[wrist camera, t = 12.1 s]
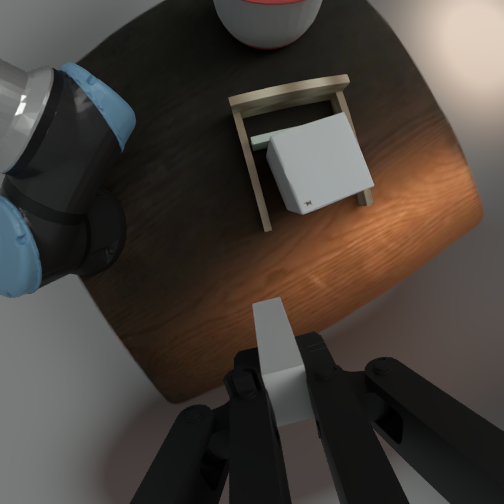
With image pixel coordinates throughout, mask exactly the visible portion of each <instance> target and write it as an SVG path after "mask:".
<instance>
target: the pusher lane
mask: <svg viewBox="0 0 504 504" xmlns="http://www.w3.org/2000/svg"><path fill="white" fill-rule="evenodd" d="M349 83H350V81H349V78H348V76H347V74H346V75H338V76H331V77H324V78H318V79H312V80H306V81H300V82H295V83H290V84H285V85H280V86H275V87H270V88H266V89H261V90H257V91H253V92H248V93H244V94H240V95H236V96H233V97H229V102H230V105H231V109H232V112H233V116H234V119H235V123H236V127H237V130H238V134H239V137H240V141H241V145H242V148H243V152H244V156H245V159H246V163H247V167H248V170H249V174H250V178H251V182H252V185H253V189H254V193H255V196H256V200H257V204H258V208H259V212H260V215H261V219H262V223H263V227H264V230H265V232H267V231H271V230H272V228H271V224H270V220H269V217H268V213H267V209H266V205H265V201H264V198H263V194H262V190H261V186H260V183H259V179H258V175H257V171H256V168H255V164H254V160H253V157H252V153H251V150H250V146H249V142H248V139H247V135H246V131H245V128H244V124H243V121H242V119H243V118H246V117H250V116H254V115H259V114H263V113H267V112H271V111H276V110H280V109H285V108H290V107H294V106H299V105H304V104H310V103H315V102H321V101H326V100H330V102H331V105H332V108H333V112H334V115H336V114H339V113H342V112H344V113H345V115H346V117H347V120H348V122H349V124H350V126H351V129H352V131H353V133H354V135H355V138H356V140H357V137H356V133H355V130H354V127H353V123H352V120H351V117H350V113H349V110H348V107H347V104H346V101H345V98H344V95H343V92H342V91H343V90H344V88H345V87H346V86H347V85H348V84H349ZM357 143H358V140H357ZM358 145H359V144H358ZM359 148H360V147H359ZM356 196H357V200H358V204H359V205H361V206H370V205H374V204H373V200H372V195H371V191H370V188H368V189H365V190H363V191H361V192H358V193H356Z"/></svg>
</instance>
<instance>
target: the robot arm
mask: <svg viewBox="0 0 504 504" xmlns="http://www.w3.org/2000/svg"><path fill="white" fill-rule="evenodd" d="M135 124H136V118H135V113H134V111H133V110H132V108H131V107H130V106H129V105H128V104H127V103H126V102H125V101H124V100H123V99H122V98H121V97H120V96H119V95H118V94H117V93H116V92H114V91H113V90H112V89H111V88H110V87H108V86H107V85H106V84H105V83H103V82H102V81H100V80H99V79H96V78H95V77H94V76H93V75H91V74H90V73H89V72H88V71H87V70H85V69H83V68H82V67H80V66H78V65H76V64H74V63H71V62H67V63H65V64H64V65H63V66H61V67H60V68H59V70H56V69H54V68H52V67H50V66H48V65H45V66H42V67H39V68H37V69H34V70H32V71H29V72H26V71H24V70H22V69H20V68H18V67H16V66H14V65H12V64H9V63H8V62H5V61H3V60H1V59H0V173H3V174H6V175H5V178H4V181H3V183H2V186H1V189H0V295H3V296H6V297H10V298H12V297H13V298H14V297H19V296H22V295H24V294H31V293H34V292H35V291H36V290H37V289H38V288H41V287H43V286H45V285H47V284H49V283H51V282H53V281H55V280H57V279H59V278H62V277H64V276H66V275H68V274H76V275H93V274H96V273H99V272H101V271H103V270H105V269H107V268H108V267H110V266H111V265H112V264H113V263H114V262H115V261H116V260H117V258H118V257H119V255H120V253H121V251H122V249H123V246H124V243H125V238H126V220H125V216H124V212H123V209H122V207H121V205H120V203H119V201H118V200H117V198H116V197H115V196H114V194H113V193H112V192H111V191H109V190H108V189H107V188H105V187H104V186H102V184H103V182H104V180H105V178H106V176H107V174H108V173H109V171H110V169H111V167H112V166H113V164H114V162H115V160H116V159H117V157H118V155H119V154H120V153H122V152H123V150H124V145H125V143H126V141H127V140H128V138H129V136H130V134H131V133H132V131H133V129H134V127H135ZM253 312H254V320H255V328H256V336H257V344H258V347H256V348H251V349H247V350H243V351H239V352H238V353H237V355H236V356H235V358H234V369H233V370H231V371H230V372H228V373H227V374H226V375H225V377H224V380H223V381H224V384H225V386H226V389H227V391H228V394H229V397H230V400H229V401H228V402H227V403H226V404H224V405H222V406H220V407H218V408H216V409H213V410H211V409H210V408H209V407H207V406H206V405H200V404H199V405H193V406H190V407H187V408H186V409H184V410H183V411H181V413H180V414H179V415H178V417H177V418H176V420H175V422H174V424H173V426H172V428H171V429H170V431H169V433H168V435H167V437H166V439H165V440H164V442H163V444H162V446H161V448H160V450H159V451H158V453H157V455H156V457H155V459H154V461H153V462H152V465H151V466H150V468H149V470H148V472H147V473H146V475H145V477H144V479H143V481H142V483H141V484H140V486H139V488H138V490H137V491H136V493H135V495H134V497H133V499H132V500H131V502H130V504H218V503H219V500H220V497H221V494H222V491H223V488H224V485H225V482H226V479H227V476H228V473H229V504H292V503H291V497H290V491H289V487H288V480H287V474H286V469H285V463H284V457H283V451H282V446H281V441H280V435H279V432H278V429H277V427H278V426H283V425H287V424H291V423H295V422H299V421H303V420H307V419H310V418H314V417H315V420H316V425H317V430H318V435H319V438H320V439H321V442H322V445H323V448H324V452H325V455H326V458H327V462H328V464H329V468H330V471H331V474H332V478H333V481H334V485H335V488H336V491H337V494H338V498H339V501H340V504H409V502H408V500H407V497H406V495H405V493H404V491H403V489H402V487H401V485H400V483H399V481H398V479H397V477H396V475H395V473H394V471H393V469H392V466H391V464H390V462H389V460H388V458H387V456H386V454H385V452H384V451H383V448H382V446H381V444H380V442H379V440H378V438H377V436H376V434H375V432H374V430H375V431H376V432H377V433H378V434H379V435H380V436H381V437H382V438H383V439H384V440H385V441H386V442H387V443H388V444H389V445H390V446H391V447H392V448H393V449H394V450H395V451H396V452H397V453H398V454H399V455H400V456H402V458H403V459H404V460H405V461H406V462H407V463H409V465H410V466H411V467H413V468H414V469H415V470H416V471H417V472H418V473H419V474H420V475H421V476H422V477H423V478H424V479H425V480H426V481H427V482H428V483H429V484H430V485H431V486H432V487H433V488H435V489H436V490H437V491H438V492H439V493H440V494H441V495H442V496H443V497H444V498H445V499H446V500H447V501H448V502H449V503H450V504H504V431H502V430H501V429H499V428H498V427H496V426H494V425H493V424H492V423H490V422H488V421H487V420H486V419H484V418H482V417H481V416H480V415H478V414H476V413H475V412H474V411H472V410H471V409H469V408H468V407H466V406H465V405H463V404H462V403H460V402H459V401H457V400H456V399H454V398H453V397H451V396H450V395H448V394H447V393H445V392H444V391H442V390H441V389H439V388H438V387H436V386H435V385H433V384H432V383H430V382H429V381H427V380H426V379H424V378H423V377H422V376H420V375H419V374H417V373H416V372H414V371H413V370H411V369H410V368H408V367H407V366H405V365H404V364H402V363H401V362H399V361H398V360H396V359H394V358H391V357H381V358H377V359H374V360H372V361H370V362H369V363H368V364H367V365H366V367H365V371H358V372H348V371H344V370H342V368H341V367H340V366H338V365H336V364H335V362H334V360H333V358H332V356H331V354H330V352H329V350H328V348H327V346H326V344H325V343H324V340H323V339H322V337H321V335H319V334H317V333H316V332H311V333H307V334H304V335H300V336H296V337H294V335H293V332H292V329H291V327H290V324H289V321H288V318H287V315H286V312H285V310H284V307H283V304H282V301H281V298H280V297H277V298H273V299H269V300H265V301H261V302H258V303H254V304H253ZM373 429H374V430H373Z"/></svg>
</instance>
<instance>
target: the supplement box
mask: <svg viewBox="0 0 504 504" xmlns="http://www.w3.org/2000/svg"><path fill="white" fill-rule="evenodd" d="M266 159H267V162H268V164H269V167H270V169H271V171H272V174H273V176H274V179H275V181H276V184H277V186H278V188H279V191H280V193H281V196H282V198H283V201H284V203H285V206H286V208H287V210H289V211H292V212H296V213H299V214H302V215H303V214H306V213H309V212H312V211H314V210H317V209H319V208H322V207H324V206H327V205H329V204H332V203H334V202H337V201H339V200H341V199H344V198H346V197H349V196H351V195H353V194H356V193H358V192H361V191H363V190H365V189H368V188H370V187H373V186H374V184H373V181H372V178H371V176H370V173H369V170H368V168H367V165H366V163H365V160H364V158H363V155H362V153H361V150H360V148H359V145H358V143H357V140H356V138H355V135H354V133H353V131H352V129H351V126H350V124H349V122H348V120H347V117H346V115H345V113H344V112H342V113H339V114H336V115H333V116H330V117H326V118H323V119H320V120H317V121H314V122H311V123H308V124H305V125H301V126H298V127H295V128H292V129H289V130H286V131H283V132H280V133H277V134H274V135H272V136H270V139H269V144H268V149H267V154H266Z"/></svg>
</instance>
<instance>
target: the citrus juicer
mask: <svg viewBox="0 0 504 504" xmlns="http://www.w3.org/2000/svg"><path fill="white" fill-rule="evenodd" d="M213 1H214V5H215V8H216V11H217V14H218V16H219V18H220V20H221V21H222V23H223V24H224V26H225V27H226V29H227V30H228V31H229V33H230V34H231V35H232V36H233V37H234V38H236V39H237V40H239V41H240V42H241V43H243V44H245V45H247V46H250V47H253V48H256V49H263V50H271V49H277V48H281V47H284V46H287V45H288V44H290V43H292V42H294V41H296V40H297V39H298V38H299V37H301V35H302V34H303V33H304V32H305V31H306V30H307V29H308V28H309V26H310V25H311V24H312V23H313V21H314V19H315V17H316V15H317V13H318V10H319V8H320V5H321V2H322V0H213Z"/></svg>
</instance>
